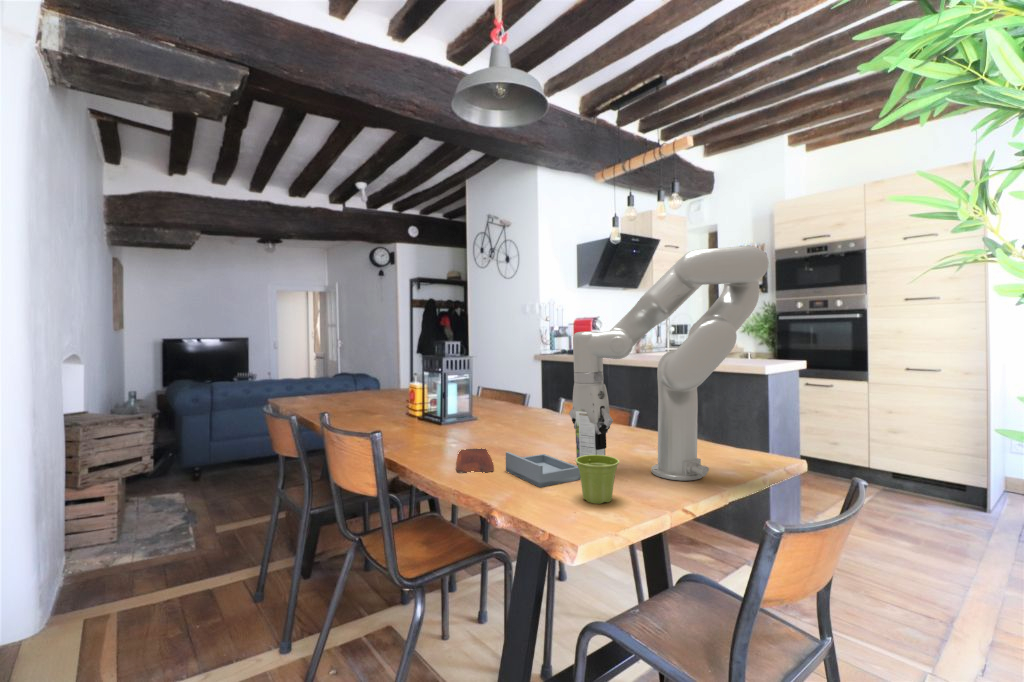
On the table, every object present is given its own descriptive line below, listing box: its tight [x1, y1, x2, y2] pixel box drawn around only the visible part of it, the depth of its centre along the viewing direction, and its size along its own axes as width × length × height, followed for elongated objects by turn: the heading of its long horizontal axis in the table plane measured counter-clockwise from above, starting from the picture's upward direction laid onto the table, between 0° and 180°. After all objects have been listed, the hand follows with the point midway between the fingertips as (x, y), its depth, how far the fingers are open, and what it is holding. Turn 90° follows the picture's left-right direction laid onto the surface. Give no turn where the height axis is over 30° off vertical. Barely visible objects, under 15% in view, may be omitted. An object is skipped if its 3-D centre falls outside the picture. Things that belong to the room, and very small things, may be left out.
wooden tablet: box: [455, 447, 495, 474], centre depth 144 cm, size 27×10×2 cm, turn 5°
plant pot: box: [575, 454, 620, 505], centre depth 111 cm, size 9×9×9 cm
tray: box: [505, 451, 581, 488], centre depth 129 cm, size 16×12×5 cm
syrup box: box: [575, 410, 606, 466], centre depth 133 cm, size 6×6×14 cm
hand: (590, 445), depth 133 cm, fingers closed on syrup box, 7 cm apart
